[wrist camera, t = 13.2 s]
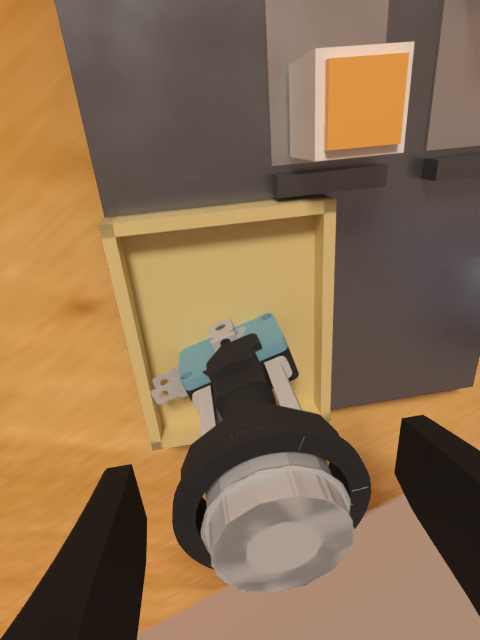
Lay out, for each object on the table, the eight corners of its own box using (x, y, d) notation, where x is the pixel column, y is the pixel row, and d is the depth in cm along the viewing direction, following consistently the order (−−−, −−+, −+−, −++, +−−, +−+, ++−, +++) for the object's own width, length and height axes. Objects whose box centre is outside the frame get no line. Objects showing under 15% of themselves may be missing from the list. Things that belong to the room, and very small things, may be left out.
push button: (179, 417, 20) (180, 653, 11) (126, 333, 17) (72, 548, 8) (300, 366, 19) (406, 565, 10) (264, 274, 17) (361, 430, 8)
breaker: (368, 59, 14) (420, 39, 11) (363, 149, 15) (408, 153, 12) (288, 65, 14) (318, 46, 11) (290, 156, 15) (317, 161, 12)
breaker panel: (552, -124, 14) (627, -175, 12) (454, 371, 23) (485, 397, 21) (39, -110, 12) (7, -167, 10) (157, 418, 22) (154, 452, 19)
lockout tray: (324, 194, 16) (336, 198, 15) (320, 404, 21) (329, 421, 20) (104, 217, 15) (98, 225, 14) (154, 430, 20) (152, 450, 19)
